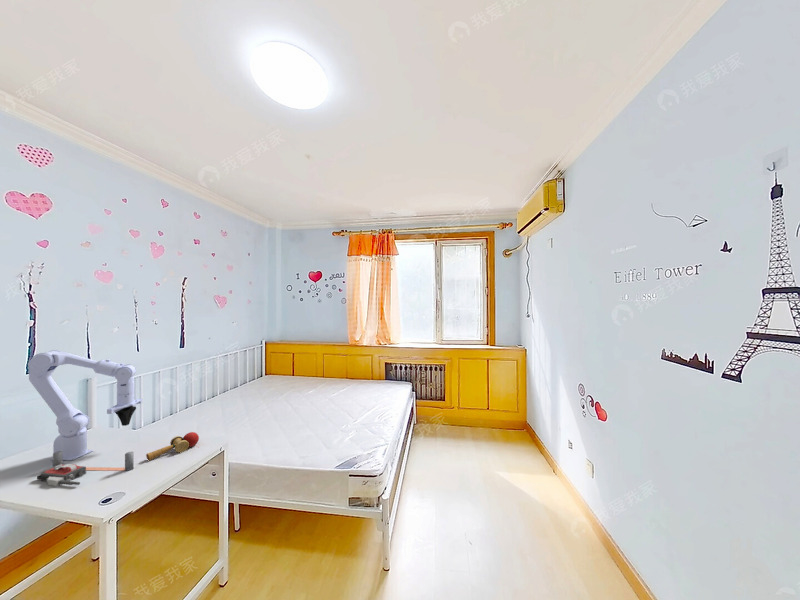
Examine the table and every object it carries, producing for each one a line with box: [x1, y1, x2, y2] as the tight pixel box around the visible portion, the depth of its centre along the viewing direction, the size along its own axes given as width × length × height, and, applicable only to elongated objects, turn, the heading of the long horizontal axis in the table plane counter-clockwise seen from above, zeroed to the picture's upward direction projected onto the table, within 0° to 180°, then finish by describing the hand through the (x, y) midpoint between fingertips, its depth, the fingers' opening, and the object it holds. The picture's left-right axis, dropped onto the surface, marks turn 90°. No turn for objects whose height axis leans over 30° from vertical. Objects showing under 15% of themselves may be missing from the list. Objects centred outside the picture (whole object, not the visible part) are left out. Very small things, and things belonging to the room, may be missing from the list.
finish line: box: [52, 451, 135, 472], centre depth 115 cm, size 30×2×6 cm, turn 87°
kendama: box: [145, 431, 200, 462], centre depth 128 cm, size 8×6×18 cm
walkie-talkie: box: [36, 463, 87, 487], centre depth 108 cm, size 9×4×20 cm
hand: (125, 425), depth 133 cm, fingers closed
